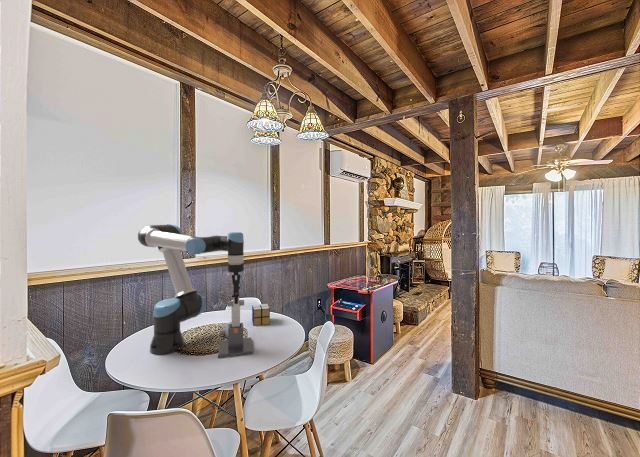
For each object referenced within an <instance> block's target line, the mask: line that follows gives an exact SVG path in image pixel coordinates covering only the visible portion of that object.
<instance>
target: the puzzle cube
mask: <svg viewBox="0 0 640 457" xmlns="http://www.w3.org/2000/svg"><path fill="white" fill-rule="evenodd" d="M251 306H252V307H251V308H252V309H251V321H252V325H253V327H255V326H256V327H257V326H266V325H270V323H271V316H270V315H271V307H270V306H269V304H268V303H263V304H262V303H261V304H252V305H251Z"/></svg>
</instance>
